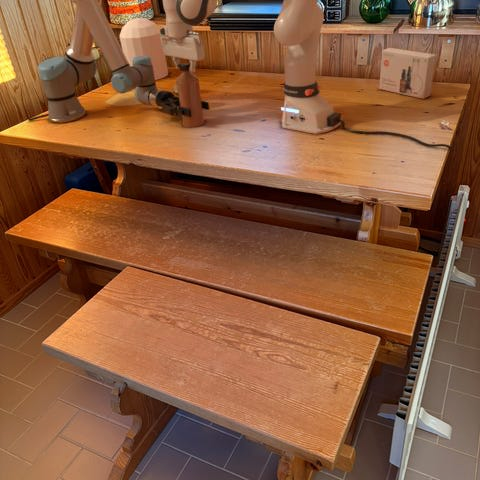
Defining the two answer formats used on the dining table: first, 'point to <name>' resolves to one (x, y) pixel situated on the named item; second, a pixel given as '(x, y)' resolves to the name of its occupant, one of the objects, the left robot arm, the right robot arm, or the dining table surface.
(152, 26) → the container
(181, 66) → the cap
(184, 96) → the bottle
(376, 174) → the dining table surface
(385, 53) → the skincare box
